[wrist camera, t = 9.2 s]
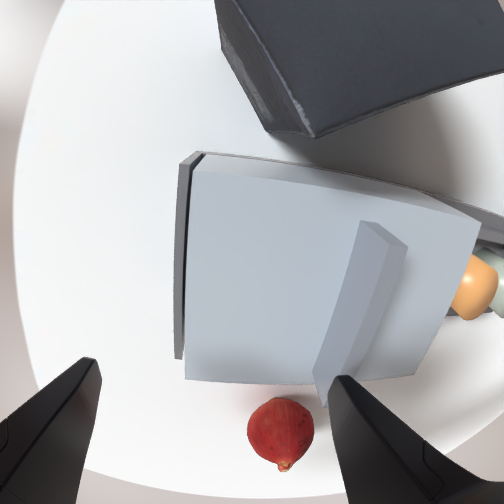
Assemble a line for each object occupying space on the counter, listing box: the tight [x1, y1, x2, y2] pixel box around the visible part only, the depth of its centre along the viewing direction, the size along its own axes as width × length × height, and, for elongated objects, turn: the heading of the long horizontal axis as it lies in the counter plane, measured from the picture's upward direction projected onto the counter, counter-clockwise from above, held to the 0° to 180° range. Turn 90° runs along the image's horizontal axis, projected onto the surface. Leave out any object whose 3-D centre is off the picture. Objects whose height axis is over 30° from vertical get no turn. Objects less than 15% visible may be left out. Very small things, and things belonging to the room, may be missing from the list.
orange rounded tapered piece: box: [450, 254, 499, 320], centre depth 17 cm, size 4×4×5 cm
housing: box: [174, 151, 504, 360], centre depth 17 cm, size 28×10×6 cm, turn 82°
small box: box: [214, 0, 504, 139], centre depth 9 cm, size 11×6×10 cm, turn 117°
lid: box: [185, 154, 481, 408], centre depth 14 cm, size 14×10×8 cm
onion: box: [247, 398, 314, 472], centre depth 22 cm, size 6×6×8 cm
